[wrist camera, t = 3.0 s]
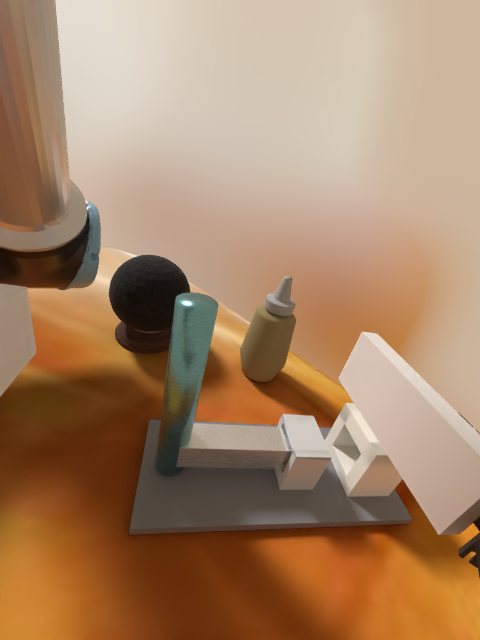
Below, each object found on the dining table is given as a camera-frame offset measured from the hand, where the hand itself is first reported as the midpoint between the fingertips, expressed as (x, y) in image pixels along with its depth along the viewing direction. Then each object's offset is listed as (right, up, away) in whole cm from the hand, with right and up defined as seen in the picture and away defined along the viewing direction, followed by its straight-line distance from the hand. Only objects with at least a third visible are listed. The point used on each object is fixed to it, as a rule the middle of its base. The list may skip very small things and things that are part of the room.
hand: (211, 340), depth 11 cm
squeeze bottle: (+4, -9, +38) cm, 39 cm away
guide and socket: (+6, -17, +22) cm, 29 cm away
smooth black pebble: (-16, -2, +40) cm, 44 cm away
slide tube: (0, -15, +20) cm, 25 cm away
